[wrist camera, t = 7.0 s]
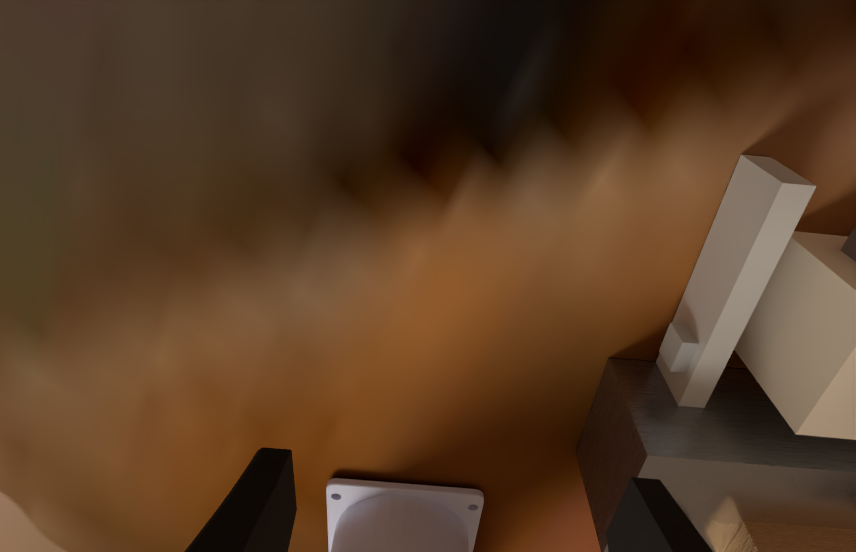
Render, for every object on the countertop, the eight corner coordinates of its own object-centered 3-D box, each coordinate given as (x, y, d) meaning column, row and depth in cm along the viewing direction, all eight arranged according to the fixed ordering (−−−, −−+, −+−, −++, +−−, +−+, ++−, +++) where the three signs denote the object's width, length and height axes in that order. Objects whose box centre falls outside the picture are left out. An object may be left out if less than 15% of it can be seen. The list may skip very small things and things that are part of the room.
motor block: (862, 475, 25) (971, 614, 20) (575, 452, 25) (610, 586, 20) (935, 385, 22) (1089, 520, 17) (608, 357, 22) (659, 486, 17)
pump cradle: (903, 382, 22) (952, 428, 20) (641, 360, 22) (662, 404, 20) (1056, 182, 17) (1141, 214, 15) (723, 152, 17) (761, 181, 15)
